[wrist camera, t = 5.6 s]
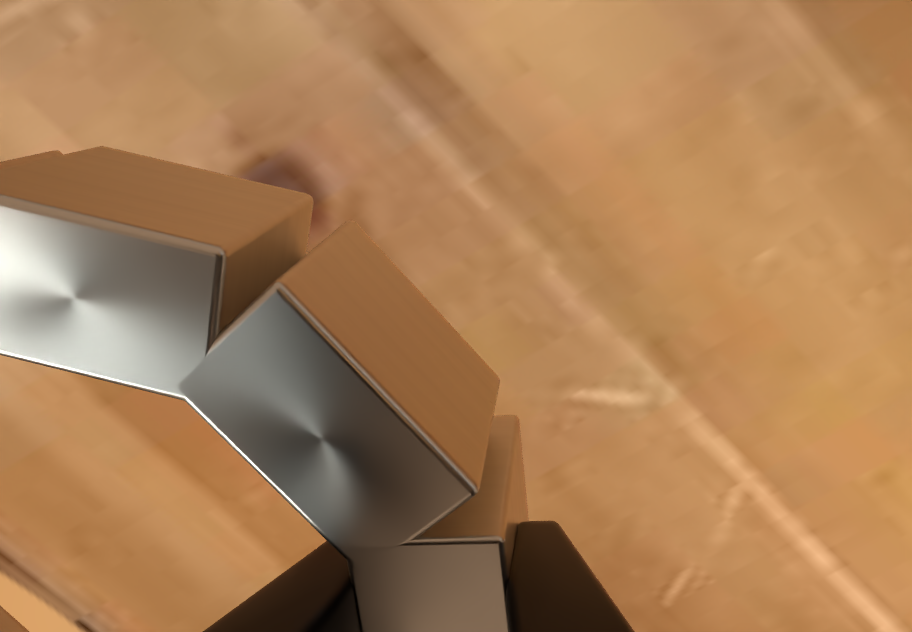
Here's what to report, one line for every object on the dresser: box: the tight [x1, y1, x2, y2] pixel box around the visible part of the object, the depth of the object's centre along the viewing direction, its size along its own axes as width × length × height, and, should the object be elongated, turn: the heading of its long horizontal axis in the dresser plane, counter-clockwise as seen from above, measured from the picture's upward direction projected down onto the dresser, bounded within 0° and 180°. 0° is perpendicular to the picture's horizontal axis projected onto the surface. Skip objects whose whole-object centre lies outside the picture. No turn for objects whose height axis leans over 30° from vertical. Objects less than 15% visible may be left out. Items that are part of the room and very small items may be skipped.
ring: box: [0, 146, 529, 632], centre depth 9 cm, size 9×9×2 cm
